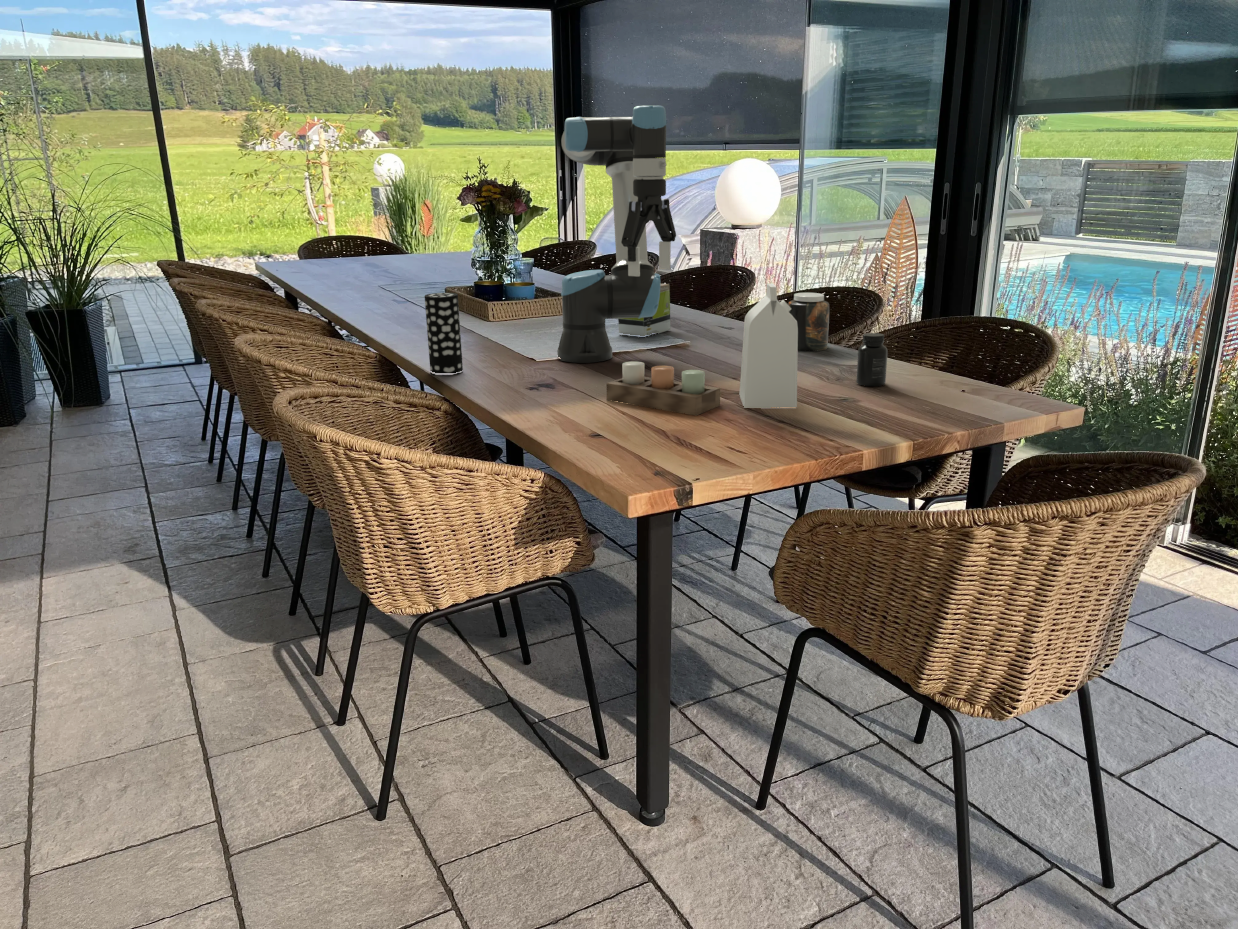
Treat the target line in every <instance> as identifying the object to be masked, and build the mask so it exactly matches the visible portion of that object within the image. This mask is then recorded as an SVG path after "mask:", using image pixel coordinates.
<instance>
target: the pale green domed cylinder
mask: <svg viewBox="0 0 1238 929" xmlns="http://www.w3.org/2000/svg"><path fill="white" fill-rule="evenodd" d="M705 374H706V373H705V371H704V370H700V369H687V370H682V371H681V382H682V392H683V393H689V394H696V395H698V394H701V393H703V392H704V391H705V386H706V385H705V384H706V383H705V380H706V376H705Z"/></svg>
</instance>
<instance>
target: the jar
mask: <svg viewBox="0 0 1238 929" xmlns="http://www.w3.org/2000/svg"><path fill="white" fill-rule="evenodd" d="M787 304H788V305H789V307H790V308H791V310H790V311H789V313H790V314H791V315H792V316H793V317H794V318H795V320H796V321H797V326H798V351H799V352H820V351H825V350H827V349H828V343H829V327H830V326H829V324H830V303H829V302H828V301H826V300H825V294H823V293H819V292H818V293H817V292H798V293H797V292H796V293H794V294H793V299H792V300H790V301H788V303H787Z"/></svg>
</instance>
